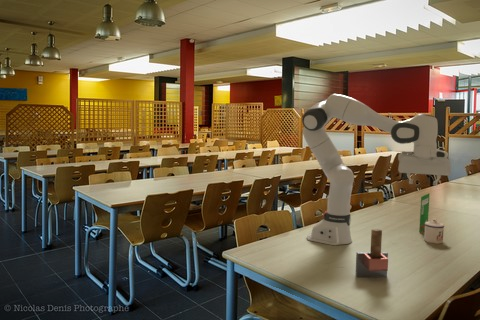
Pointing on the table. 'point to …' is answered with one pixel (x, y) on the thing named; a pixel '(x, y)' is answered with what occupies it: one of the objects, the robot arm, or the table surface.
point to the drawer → (371, 265)
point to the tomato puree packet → (424, 211)
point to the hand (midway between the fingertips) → (422, 184)
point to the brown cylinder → (376, 243)
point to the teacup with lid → (434, 232)
